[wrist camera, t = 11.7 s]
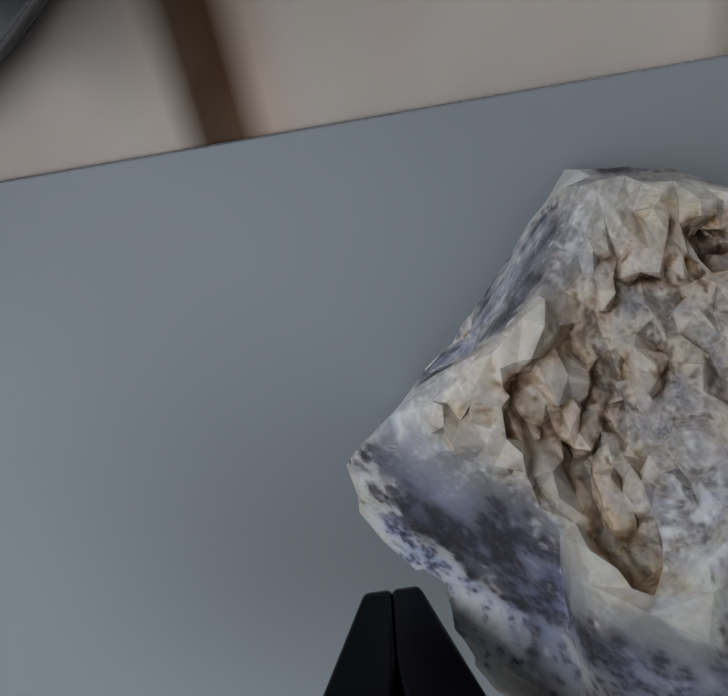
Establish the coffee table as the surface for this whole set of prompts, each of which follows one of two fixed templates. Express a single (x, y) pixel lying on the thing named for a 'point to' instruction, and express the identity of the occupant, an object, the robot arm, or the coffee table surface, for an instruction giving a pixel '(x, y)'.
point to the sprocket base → (16, 21)
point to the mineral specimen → (579, 448)
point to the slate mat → (260, 370)
